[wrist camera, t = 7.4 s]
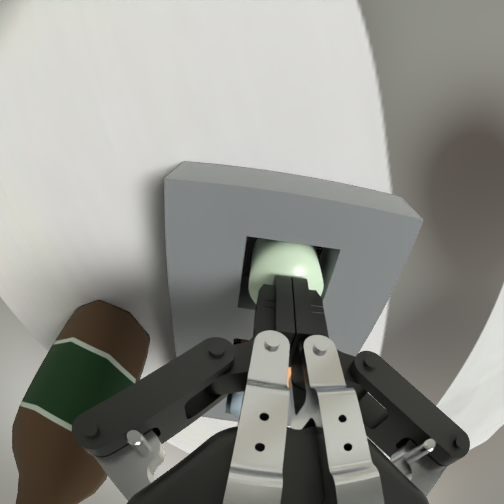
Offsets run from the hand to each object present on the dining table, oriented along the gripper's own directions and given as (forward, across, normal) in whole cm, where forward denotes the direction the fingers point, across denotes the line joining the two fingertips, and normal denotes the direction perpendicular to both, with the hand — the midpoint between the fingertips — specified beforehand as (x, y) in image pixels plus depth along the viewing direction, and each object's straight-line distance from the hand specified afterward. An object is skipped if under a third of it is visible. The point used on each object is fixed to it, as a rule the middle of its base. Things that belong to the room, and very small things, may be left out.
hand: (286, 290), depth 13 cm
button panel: (+4, 0, +7) cm, 8 cm away
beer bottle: (+4, +13, +10) cm, 17 cm away
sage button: (+3, 0, 0) cm, 3 cm away
